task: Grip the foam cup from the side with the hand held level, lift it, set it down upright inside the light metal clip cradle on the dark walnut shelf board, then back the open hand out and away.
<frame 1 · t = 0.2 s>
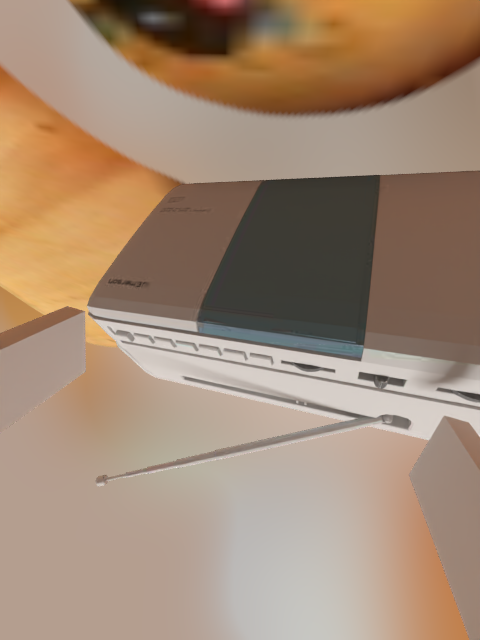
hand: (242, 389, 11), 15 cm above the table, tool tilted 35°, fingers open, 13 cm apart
stereo radio cassette player: (321, 216, 22), on the table
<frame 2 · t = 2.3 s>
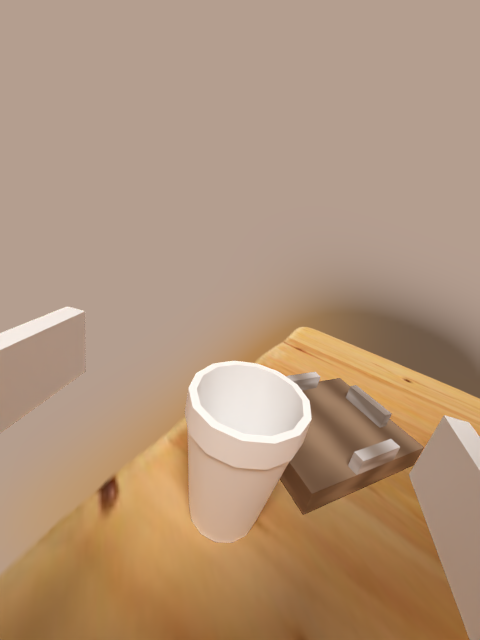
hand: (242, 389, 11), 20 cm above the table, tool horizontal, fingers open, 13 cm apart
foam cup: (222, 507, 28), on the table
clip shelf: (322, 438, 38), on the table
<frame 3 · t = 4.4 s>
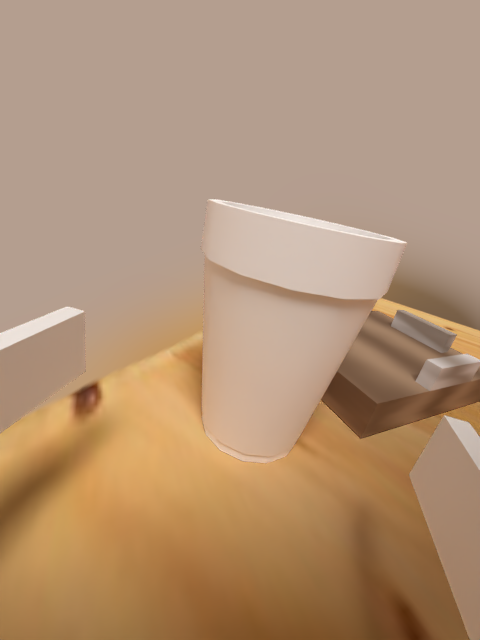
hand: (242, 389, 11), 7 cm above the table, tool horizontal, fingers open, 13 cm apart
foam cup: (248, 424, 20), on the table
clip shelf: (366, 367, 30), on the table
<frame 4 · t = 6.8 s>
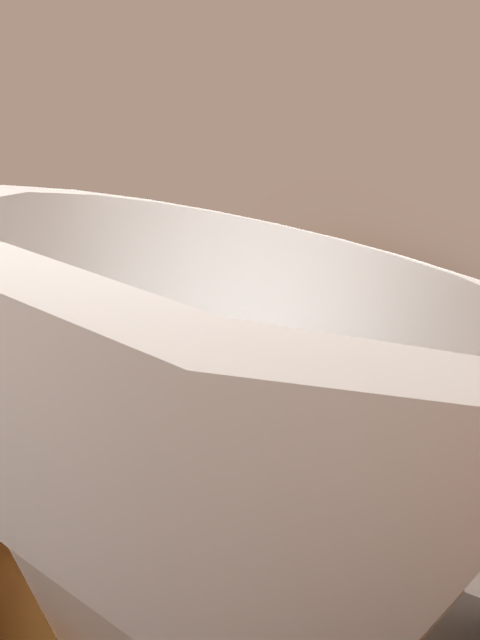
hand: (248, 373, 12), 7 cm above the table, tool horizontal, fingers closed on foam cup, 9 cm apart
foam cup: (182, 607, 11), on the table, touching gripper
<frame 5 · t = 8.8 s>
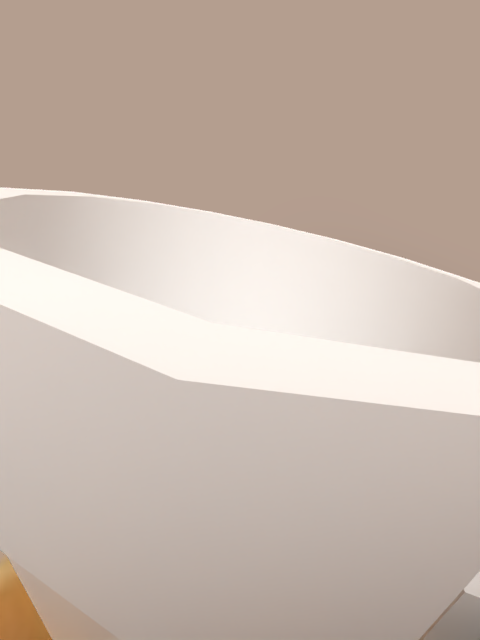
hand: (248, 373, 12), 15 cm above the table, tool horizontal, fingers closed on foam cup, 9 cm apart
foam cup: (181, 608, 11), point 8 cm above the table, touching gripper
when the fingers open (12 cm above the table, at t = 11.0 s): foam cup drops 1 cm, resting on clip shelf.
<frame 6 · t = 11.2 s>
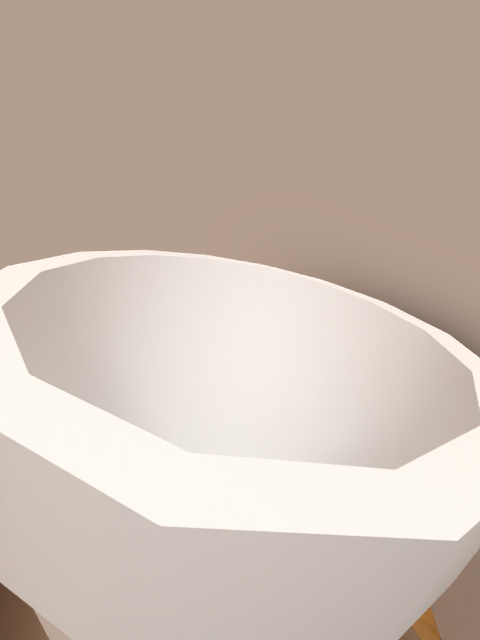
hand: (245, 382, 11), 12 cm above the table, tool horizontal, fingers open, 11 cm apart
foam cup: (181, 630, 11), point 3 cm above the table, touching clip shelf
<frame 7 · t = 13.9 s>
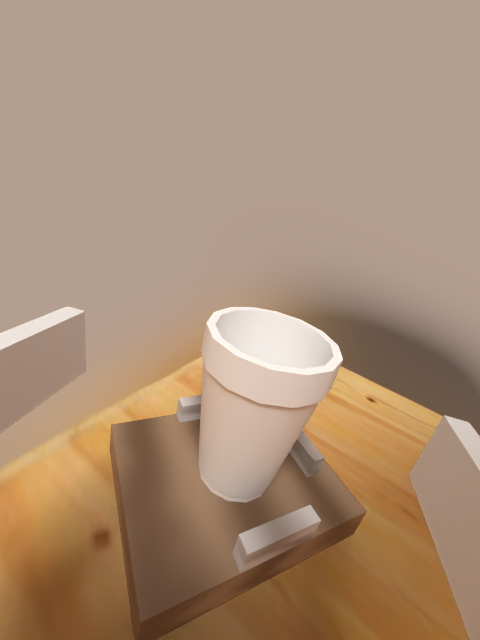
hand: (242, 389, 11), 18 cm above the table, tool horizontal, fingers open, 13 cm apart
foam cup: (234, 468, 25), point 3 cm above the table, touching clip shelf
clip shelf: (226, 489, 27), on the table
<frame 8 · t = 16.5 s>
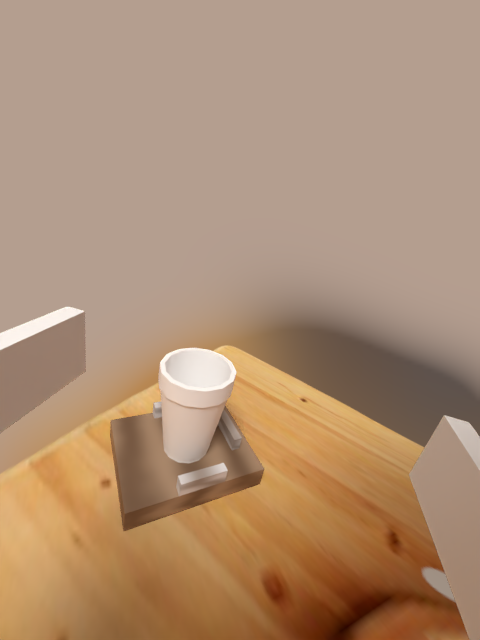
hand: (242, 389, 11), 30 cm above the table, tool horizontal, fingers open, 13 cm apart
foam cup: (186, 445, 42), point 3 cm above the table, touching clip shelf
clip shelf: (182, 459, 43), on the table
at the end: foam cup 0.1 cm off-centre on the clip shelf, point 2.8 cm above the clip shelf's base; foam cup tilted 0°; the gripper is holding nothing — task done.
